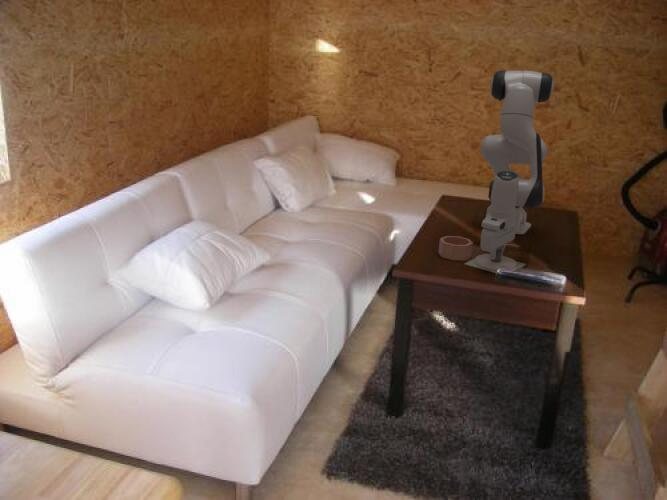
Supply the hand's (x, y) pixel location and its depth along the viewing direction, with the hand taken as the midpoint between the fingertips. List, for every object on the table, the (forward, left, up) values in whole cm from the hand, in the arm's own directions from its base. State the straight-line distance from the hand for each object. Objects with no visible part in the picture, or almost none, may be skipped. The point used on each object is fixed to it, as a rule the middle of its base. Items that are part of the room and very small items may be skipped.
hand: (496, 257), depth 226 cm
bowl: (+2, -15, -3) cm, 15 cm away
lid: (0, 0, -2) cm, 2 cm away
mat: (0, 0, -3) cm, 3 cm away
